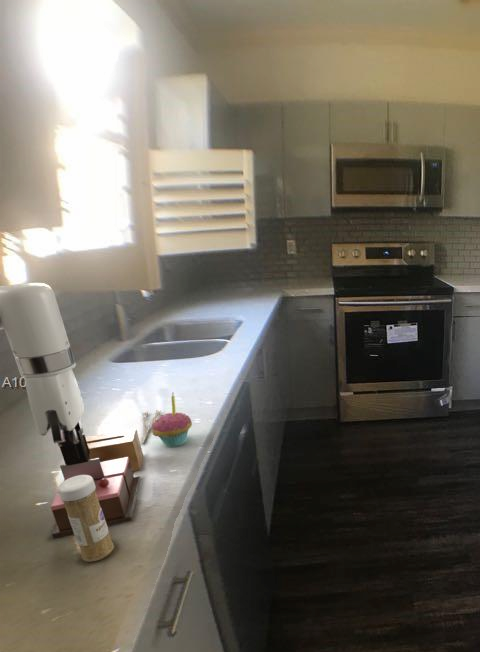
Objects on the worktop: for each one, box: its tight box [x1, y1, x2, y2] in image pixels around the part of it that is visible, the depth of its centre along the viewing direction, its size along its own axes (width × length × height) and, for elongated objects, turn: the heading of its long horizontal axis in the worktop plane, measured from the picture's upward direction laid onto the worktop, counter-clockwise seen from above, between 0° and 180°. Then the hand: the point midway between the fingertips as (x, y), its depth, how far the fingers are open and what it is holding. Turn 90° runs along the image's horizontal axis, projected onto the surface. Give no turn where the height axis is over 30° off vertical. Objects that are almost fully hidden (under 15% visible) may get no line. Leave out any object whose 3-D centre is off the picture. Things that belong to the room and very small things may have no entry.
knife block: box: [85, 428, 144, 473], centre depth 96 cm, size 11×6×7 cm, turn 111°
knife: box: [59, 428, 105, 481], centre depth 82 cm, size 6×2×14 cm, turn 110°
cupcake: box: [151, 392, 193, 448], centre depth 105 cm, size 9×8×12 cm
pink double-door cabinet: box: [50, 457, 142, 539], centre depth 84 cm, size 12×14×7 cm
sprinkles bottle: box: [57, 475, 115, 563], centre depth 71 cm, size 5×5×13 cm
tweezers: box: [141, 409, 162, 444], centre depth 115 cm, size 17×5×2 cm, turn 19°
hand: (78, 459), depth 81 cm, fingers closed on knife, 1 cm apart
